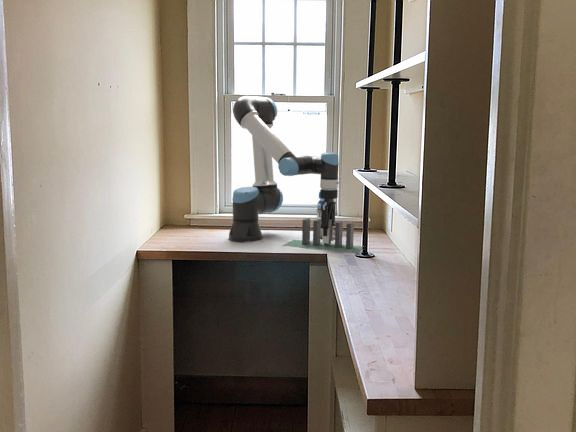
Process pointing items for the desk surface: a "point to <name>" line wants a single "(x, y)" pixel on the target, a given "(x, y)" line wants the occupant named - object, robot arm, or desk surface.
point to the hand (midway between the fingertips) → (327, 241)
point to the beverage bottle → (319, 207)
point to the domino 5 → (349, 235)
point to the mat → (323, 246)
